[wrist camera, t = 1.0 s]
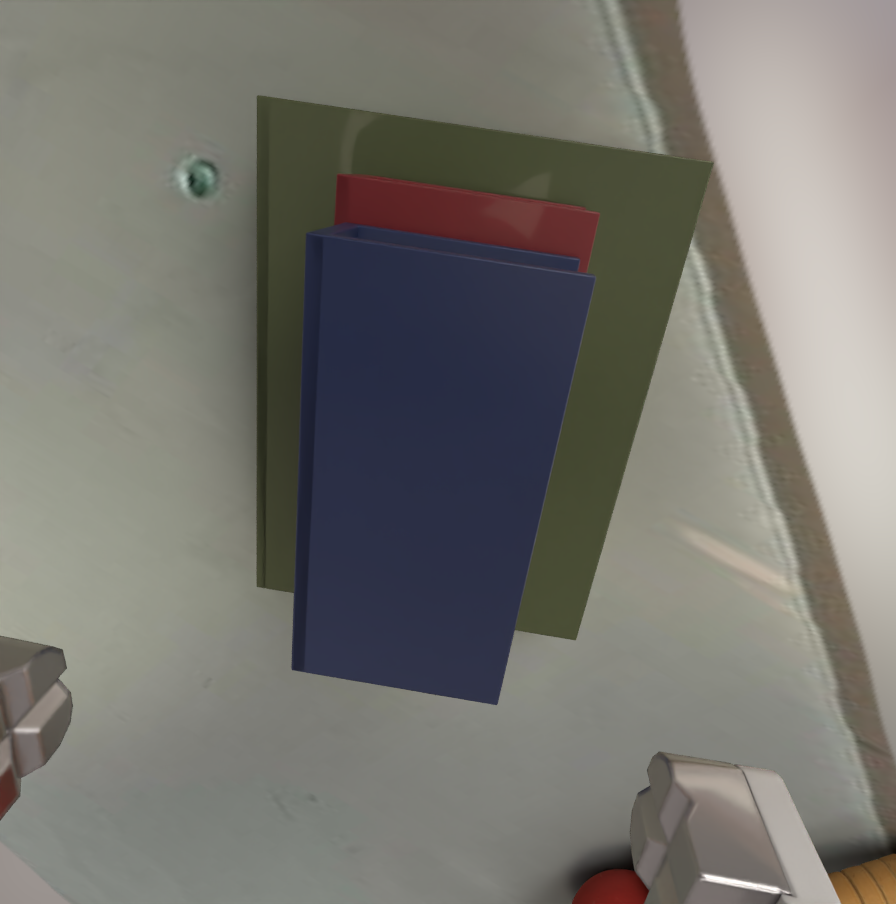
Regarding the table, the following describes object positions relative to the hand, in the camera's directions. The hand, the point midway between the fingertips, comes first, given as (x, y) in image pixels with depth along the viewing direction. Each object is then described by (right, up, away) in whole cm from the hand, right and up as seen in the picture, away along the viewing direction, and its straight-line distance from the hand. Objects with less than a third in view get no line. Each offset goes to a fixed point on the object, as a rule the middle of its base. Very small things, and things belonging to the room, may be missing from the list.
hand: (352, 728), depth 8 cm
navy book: (+1, +4, +8) cm, 9 cm away
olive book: (+1, +6, +13) cm, 15 cm away
